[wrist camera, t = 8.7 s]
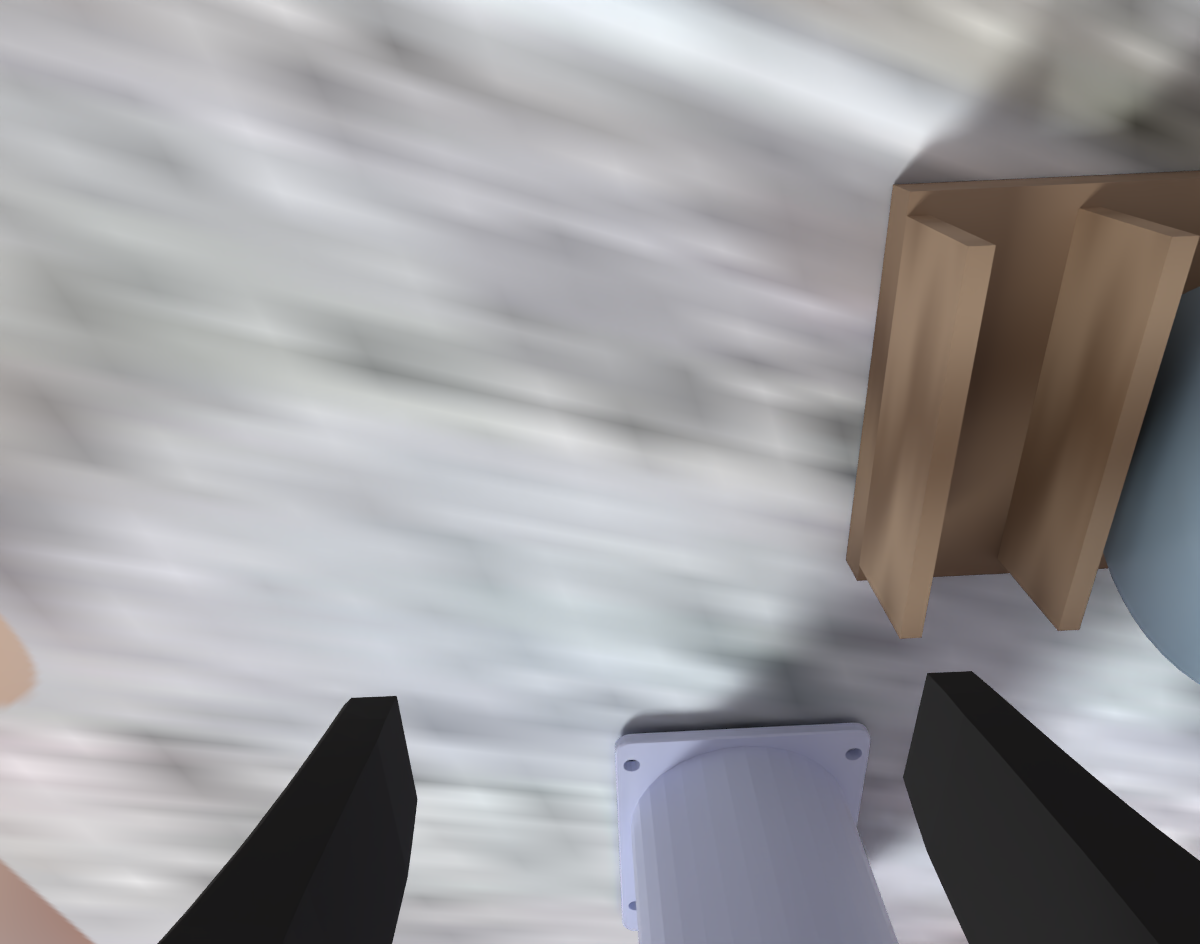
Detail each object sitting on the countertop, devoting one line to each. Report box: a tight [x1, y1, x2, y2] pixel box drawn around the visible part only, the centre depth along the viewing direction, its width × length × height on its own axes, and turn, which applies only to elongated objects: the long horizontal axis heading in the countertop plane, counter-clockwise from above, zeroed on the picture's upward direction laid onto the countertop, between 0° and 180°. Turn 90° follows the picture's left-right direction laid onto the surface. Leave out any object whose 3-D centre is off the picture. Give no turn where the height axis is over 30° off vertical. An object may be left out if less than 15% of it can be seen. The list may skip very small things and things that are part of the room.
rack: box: [846, 171, 1200, 639], centre depth 18 cm, size 10×12×4 cm
